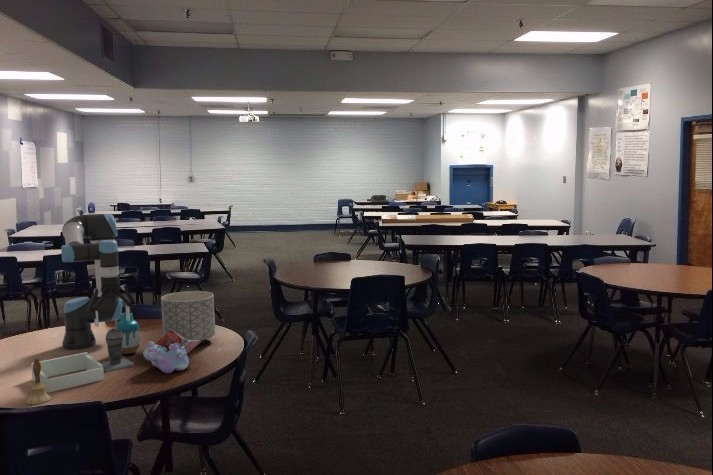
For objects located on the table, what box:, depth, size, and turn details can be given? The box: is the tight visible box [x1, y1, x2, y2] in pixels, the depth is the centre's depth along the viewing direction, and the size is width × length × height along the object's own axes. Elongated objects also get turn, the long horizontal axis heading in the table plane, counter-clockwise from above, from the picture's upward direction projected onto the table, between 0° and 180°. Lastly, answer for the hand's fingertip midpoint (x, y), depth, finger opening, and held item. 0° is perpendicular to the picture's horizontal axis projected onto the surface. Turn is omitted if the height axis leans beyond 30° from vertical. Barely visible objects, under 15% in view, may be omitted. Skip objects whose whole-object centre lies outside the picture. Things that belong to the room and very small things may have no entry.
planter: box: [160, 290, 216, 345], centre depth 297 cm, size 25×25×24 cm
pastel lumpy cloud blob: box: [142, 330, 203, 375], centre depth 260 cm, size 20×22×18 cm
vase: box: [116, 312, 141, 355], centre depth 282 cm, size 11×11×19 cm
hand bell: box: [25, 358, 52, 405], centre depth 224 cm, size 8×8×16 cm
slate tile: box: [99, 357, 135, 372], centre depth 265 cm, size 12×12×1 cm
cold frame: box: [30, 351, 105, 394], centre depth 247 cm, size 21×22×7 cm
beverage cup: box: [105, 319, 123, 365], centre depth 264 cm, size 7×7×20 cm
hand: (112, 323), depth 263 cm, fingers open, 13 cm apart
